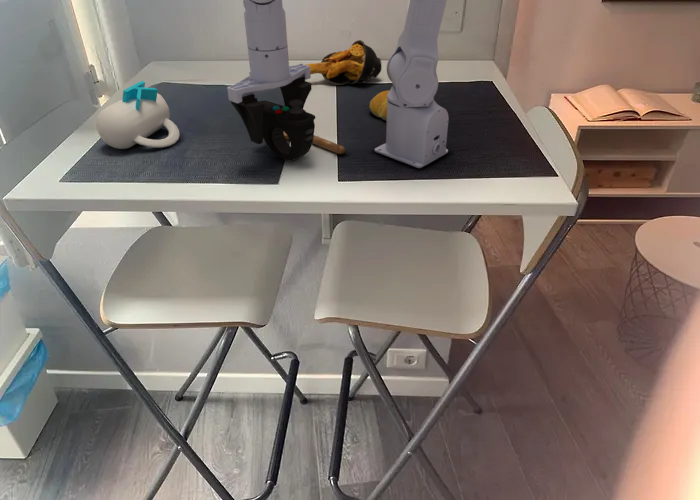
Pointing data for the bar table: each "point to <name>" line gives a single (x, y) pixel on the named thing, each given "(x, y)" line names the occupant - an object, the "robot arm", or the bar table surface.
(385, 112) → the bread roll
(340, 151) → the spoon
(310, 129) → the controller
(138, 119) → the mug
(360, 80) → the fried shrimp in bowl
